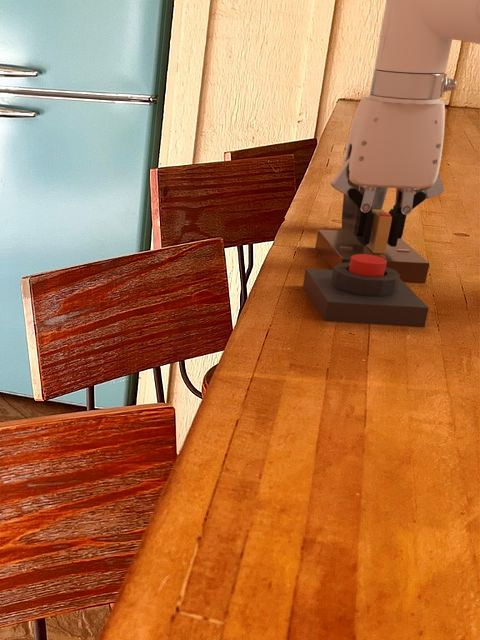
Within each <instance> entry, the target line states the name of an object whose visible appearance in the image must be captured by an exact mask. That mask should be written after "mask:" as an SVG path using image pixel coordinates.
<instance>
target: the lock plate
mask: <svg viewBox="0 0 480 640" xmlns="http://www.w3.org/2000/svg"><path fill="white" fill-rule="evenodd" d="M316 233H317V234H316V241H315V245H314V248H315V249H316V251H317V252H318V253H319V254H320V255H321V257H322V258H323V260H325V262H326V263H327V265H328V266H329V267H330V269H331V270H333V269H334V267H335V266H336V265H338V264H339V263H347V262H350V260H351V256H353V255H357V254H367V255H374V256H379V257H382V258H384V259H386V260H387V263H386V267H387V268H390V269H393V270H395V271H396V272H397V273H398V274H399V275H400V279H401V280H402V281H403V282H404V283H414V284H415V283H417V284H426V282H427V277H428V272H429V269H430V264H431V263H430V262H429V261H428V260H426V259H425V258H424V257H423V256H422V255H421V254H419V252H418V251H416V249H414V248H413V247H412V246H410V245H409V244H408V242H406V241H404V239H402V238H401V239H398V241H397V245H396V247H391V246H390V245H389V244H387V246H386V252H385V254H381V253H373V252H372V251H371V250H370V249H369V248H368V247H367V246H366V245H362V244H361V243H360V242H359V241H358V240H357V236H355V235H354V231H341V230H335V229H334V230H333V229H317V232H316Z"/></svg>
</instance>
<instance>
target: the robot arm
mask: <svg viewBox="0 0 480 640" xmlns="http://www.w3.org/2000/svg"><path fill="white" fill-rule="evenodd" d="M384 7H385V8H384V12H383V18H382V23H381V29H380V35H379V40H378V41H379V42H378V47H377V53H376V58H375V64H374V70H373V75H372V79H371V86H370V91H369V96H363V97H361V99H360V101H359V103H358V106H357V108H356V112H355V115H354V118H353V121H352V124H351V128H350V132H349V135H348V139H347V142H346V146H345V148H346V150H344V156H343V160H342V164H341V165H342V166H341V167H340V169H339V171H337V173H336V175H335V176H334V177H333V179H332V180H331V182H330V185H331V187H332V188H333V189H335V190H336V191H337V192H339V193H342V194H343V195H344V194H345V195H347V196H348V197H349V198H350V199H351V200H352V201H353V203H354V204H355V205H356V207H357V208H358V211H357V217H356V222H355V228H354V235H355V236H357V240H358V241H359V242H360V243H361V244H362V245H367V244H369V241H370V236H371V230H372V225H373V220H374V214H373V213H372V207H371V206H372V203H373V199H374V195H375V191H376V187H387V188H388V189H390V188H393V189H396V194H395V201H394V205H393V207H392V208H390V210H388V213H389V214H390V215H391V217H392V221H391V226H390V231H389V236H388V241H387V244H389V245H390V246H391V247H396V245H397V241H398V239H402V237H403V234H404V230H405V225H406V221H407V220H406V219H407V216H408V215H409V214H411V213H412V211H413V210H414V209H415V208H416V207H418V206H420V204H421V203H423V202H424V201H425V200H429V199H431V198H434V197H436V196H439V195H442V194H443V193H444V191H445V188H444V184H443V180H442V177H441V174H440V169H441V168H440V167H441V162H442V156H443V155H442V154H443V147H444V138H445V121H446V104H445V102H444V101H442V100H441V98H443V96H444V93H447V92H454V91H455V90H456V86H457V79H456V78H450V77H448V76H447V75H448V73H446V71H447V67H448V62H449V58H450V53H451V49H452V42H453V41H459V42H460V41H461V42H467V43H470V44H471V43H472V44H476V45H480V0H386V2H385V6H384ZM349 179H350V181H351V182H352V183H354V184H356V185H359V189H358V190H357V189H356V188H355V187H353V186H351V185H350V184H348V180H349Z"/></svg>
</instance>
